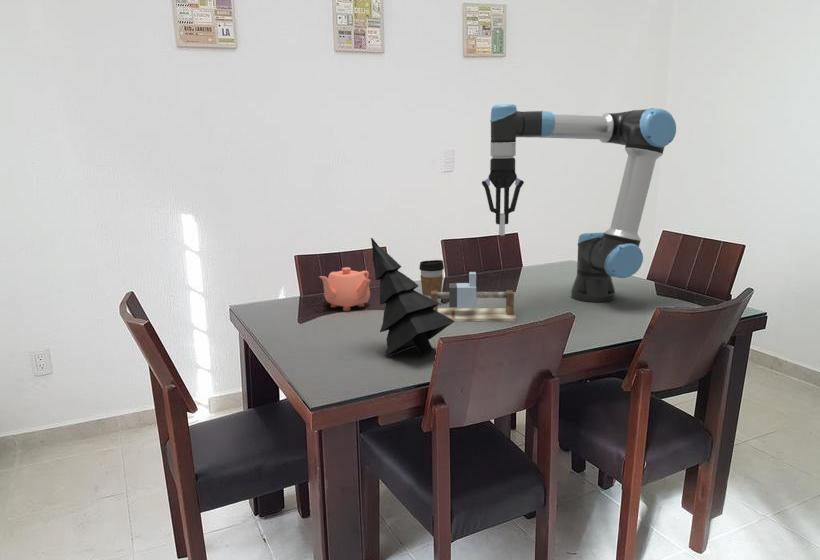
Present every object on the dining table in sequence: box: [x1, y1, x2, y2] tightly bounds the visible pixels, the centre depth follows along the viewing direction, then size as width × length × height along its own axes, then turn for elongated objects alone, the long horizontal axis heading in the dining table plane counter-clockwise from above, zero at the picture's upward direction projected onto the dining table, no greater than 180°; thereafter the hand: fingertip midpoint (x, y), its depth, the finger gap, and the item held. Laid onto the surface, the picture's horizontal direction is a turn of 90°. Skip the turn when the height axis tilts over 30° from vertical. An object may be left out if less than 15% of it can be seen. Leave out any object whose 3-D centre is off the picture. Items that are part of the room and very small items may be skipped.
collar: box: [448, 282, 458, 308], centre depth 199 cm, size 2×6×6 cm, turn 178°
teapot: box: [318, 266, 371, 312], centre depth 213 cm, size 16×17×14 cm
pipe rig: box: [431, 289, 518, 323], centre depth 199 cm, size 27×12×8 cm, turn 87°
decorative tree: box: [370, 237, 455, 357], centre depth 167 cm, size 15×15×35 cm
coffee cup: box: [418, 259, 445, 306], centre depth 215 cm, size 8×8×15 cm
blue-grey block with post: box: [456, 271, 477, 308], centre depth 198 cm, size 6×6×10 cm
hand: (501, 234), depth 194 cm, fingers closed
